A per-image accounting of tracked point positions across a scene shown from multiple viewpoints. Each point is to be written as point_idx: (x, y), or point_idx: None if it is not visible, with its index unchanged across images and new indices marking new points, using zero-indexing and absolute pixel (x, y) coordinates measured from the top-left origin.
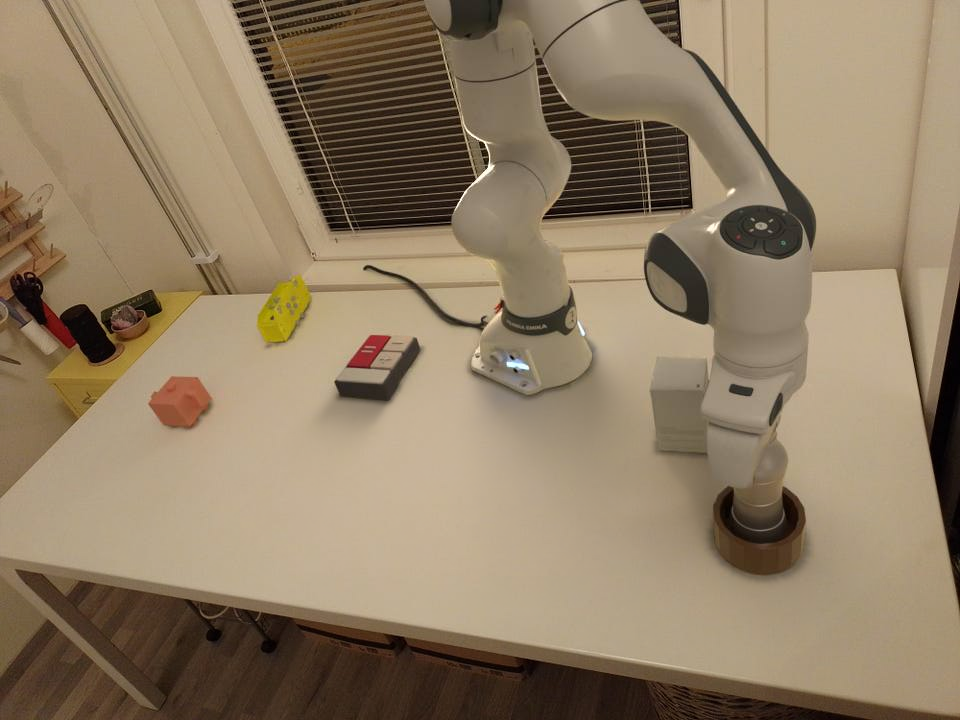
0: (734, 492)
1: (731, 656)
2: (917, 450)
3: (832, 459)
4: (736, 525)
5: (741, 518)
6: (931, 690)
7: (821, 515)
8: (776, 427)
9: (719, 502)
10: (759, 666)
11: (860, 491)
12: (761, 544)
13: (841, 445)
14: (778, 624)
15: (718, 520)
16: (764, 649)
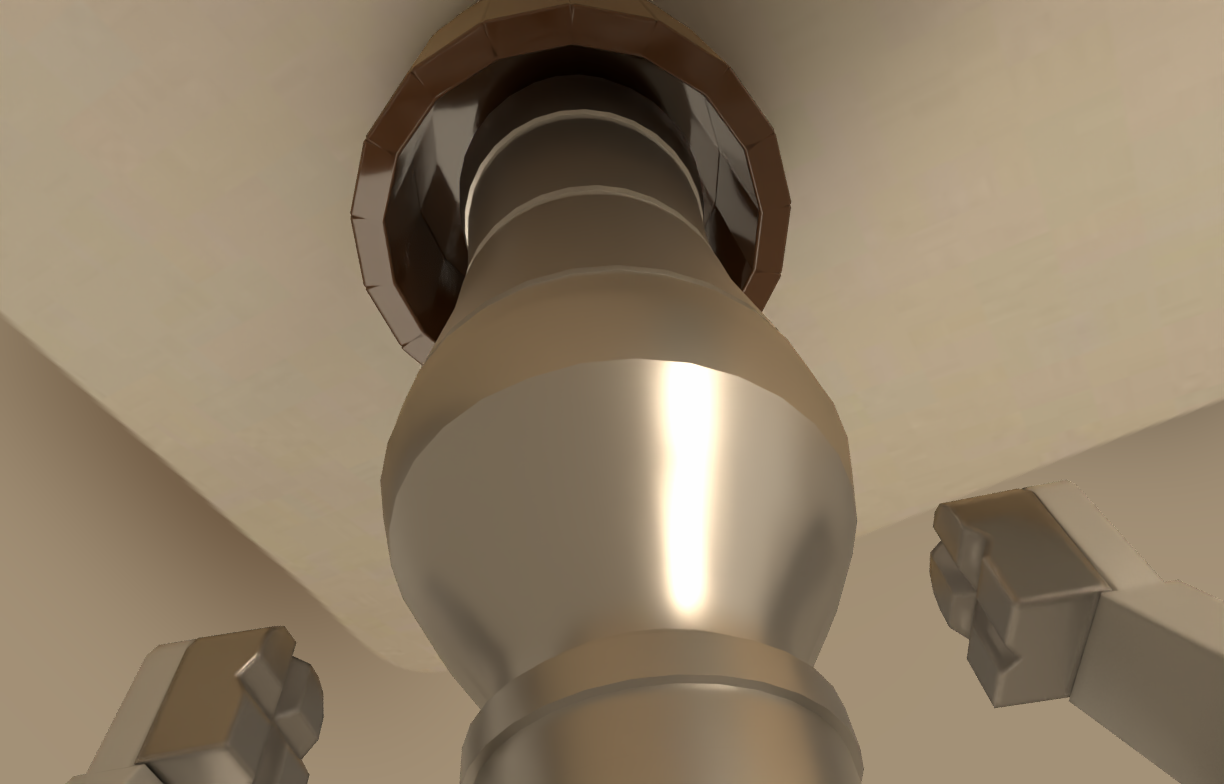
0: (493, 228)
1: (90, 330)
2: (1163, 413)
3: (1074, 224)
4: (466, 177)
5: (468, 228)
6: (421, 654)
7: (787, 304)
8: (940, 610)
9: (521, 43)
10: (144, 403)
11: (939, 355)
12: (423, 338)
13: (1158, 220)
14: (308, 382)
15: (408, 107)
16: (202, 389)
